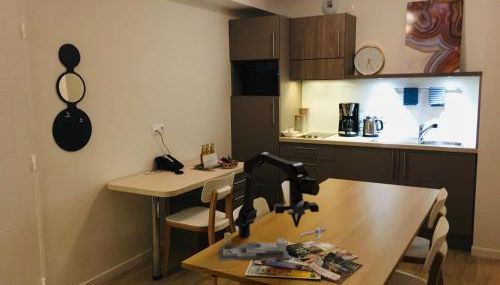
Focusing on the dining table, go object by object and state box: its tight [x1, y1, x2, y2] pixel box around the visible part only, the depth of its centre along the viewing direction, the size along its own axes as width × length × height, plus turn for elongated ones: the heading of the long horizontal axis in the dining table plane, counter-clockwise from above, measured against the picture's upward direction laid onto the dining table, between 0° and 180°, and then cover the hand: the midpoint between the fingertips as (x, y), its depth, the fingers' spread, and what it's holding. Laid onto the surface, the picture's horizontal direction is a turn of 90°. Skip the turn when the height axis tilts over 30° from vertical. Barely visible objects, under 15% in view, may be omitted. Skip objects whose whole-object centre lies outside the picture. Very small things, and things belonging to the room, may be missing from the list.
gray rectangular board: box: [217, 244, 290, 262], centre depth 180 cm, size 16×30×1 cm, turn 93°
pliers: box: [298, 226, 326, 241], centre depth 202 cm, size 10×2×15 cm
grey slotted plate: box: [223, 247, 284, 258], centre depth 178 cm, size 8×26×2 cm, turn 93°
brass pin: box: [223, 231, 232, 249], centre depth 184 cm, size 3×3×7 cm
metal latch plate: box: [245, 238, 287, 253], centre depth 178 cm, size 8×17×3 cm, turn 93°
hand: (296, 227), depth 177 cm, fingers closed
